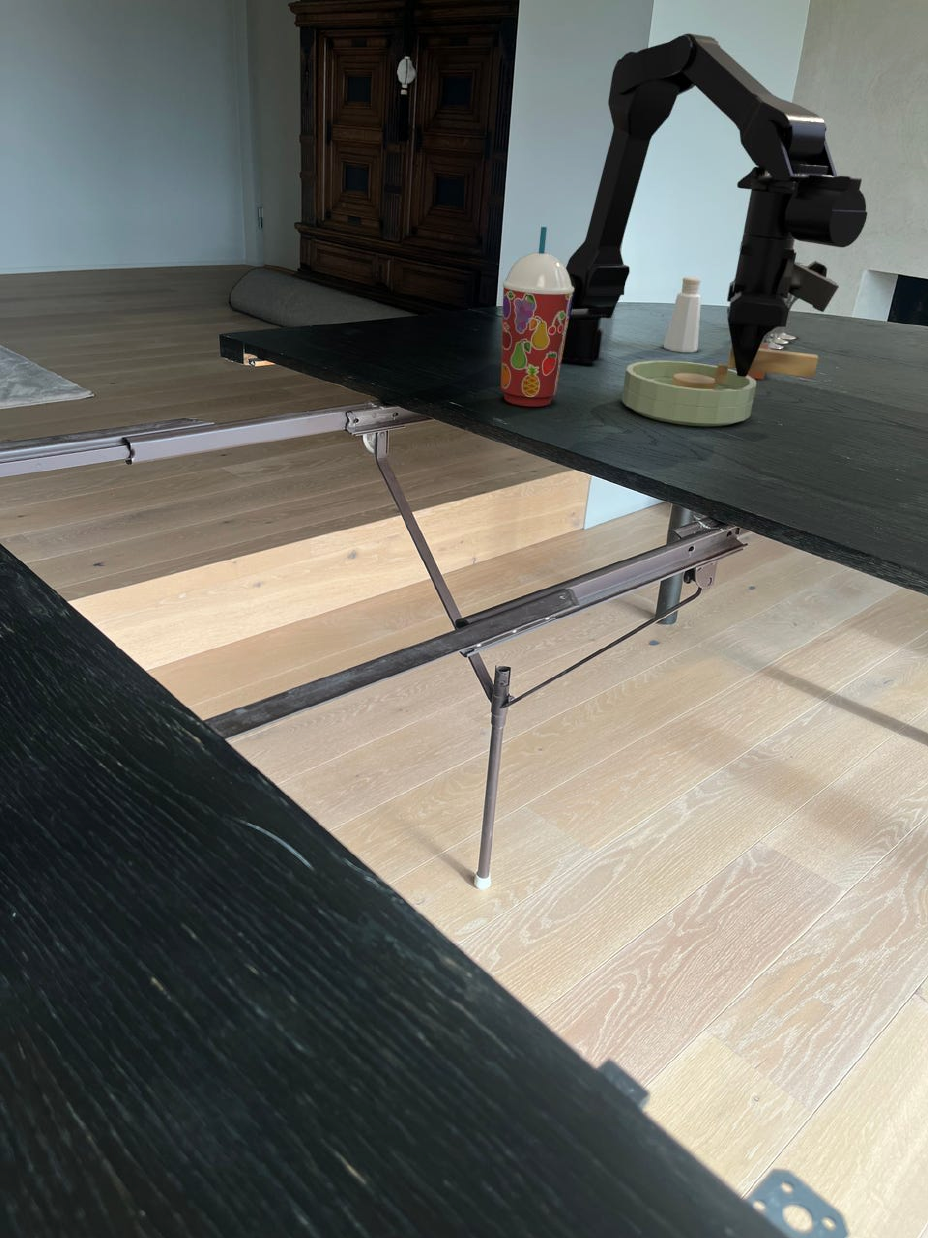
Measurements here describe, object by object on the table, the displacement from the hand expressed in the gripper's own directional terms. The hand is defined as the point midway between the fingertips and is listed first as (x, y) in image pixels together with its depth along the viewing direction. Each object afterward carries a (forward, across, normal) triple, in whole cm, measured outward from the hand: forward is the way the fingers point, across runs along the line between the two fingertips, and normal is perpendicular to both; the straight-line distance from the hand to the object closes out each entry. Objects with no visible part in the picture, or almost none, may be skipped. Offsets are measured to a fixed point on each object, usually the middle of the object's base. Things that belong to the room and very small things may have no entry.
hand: (741, 374), depth 115 cm
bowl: (+5, 0, +6) cm, 8 cm away
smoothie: (+5, -5, +25) cm, 26 cm away
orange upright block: (+5, +27, -3) cm, 28 cm away
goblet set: (+6, +53, -7) cm, 54 cm away
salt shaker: (+5, +41, +8) cm, 42 cm away
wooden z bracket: (+4, 0, 0) cm, 4 cm away
